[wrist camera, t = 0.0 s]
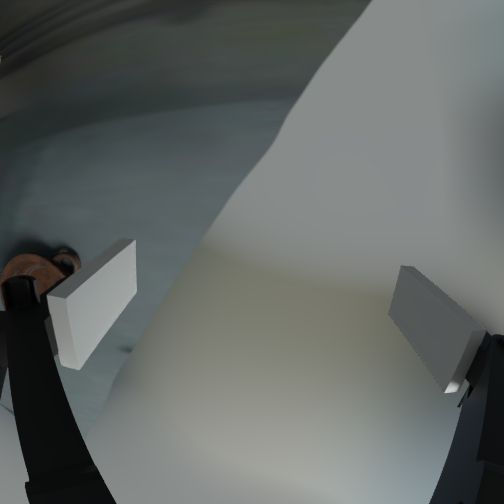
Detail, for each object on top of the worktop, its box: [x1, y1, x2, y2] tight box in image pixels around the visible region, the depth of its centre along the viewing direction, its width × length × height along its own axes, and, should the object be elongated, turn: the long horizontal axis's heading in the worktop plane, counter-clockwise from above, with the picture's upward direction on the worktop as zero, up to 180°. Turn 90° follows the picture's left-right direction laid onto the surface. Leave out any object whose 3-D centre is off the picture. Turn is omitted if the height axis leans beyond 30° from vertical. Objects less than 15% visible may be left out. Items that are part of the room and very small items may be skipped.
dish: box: [0, 252, 81, 354], centre depth 44 cm, size 18×22×5 cm
